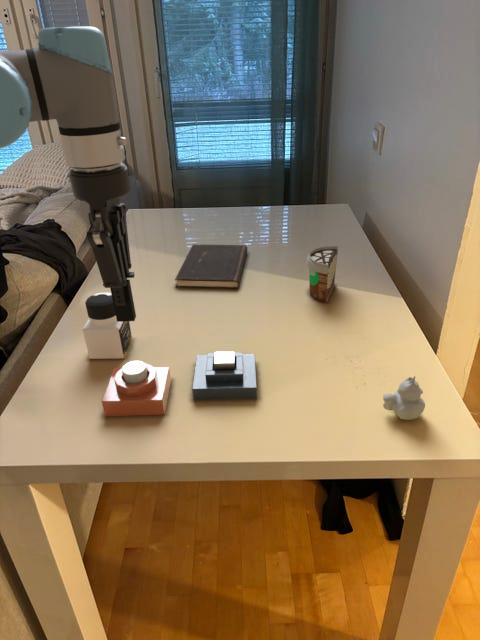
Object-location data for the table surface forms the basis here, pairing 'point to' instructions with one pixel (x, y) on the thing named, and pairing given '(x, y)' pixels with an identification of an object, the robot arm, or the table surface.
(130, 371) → the white round push button
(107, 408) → the orange button base
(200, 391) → the push button base
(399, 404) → the white lumpy figurine
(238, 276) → the hardcover book
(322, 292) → the food container
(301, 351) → the table surface
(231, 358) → the pump square
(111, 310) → the medicine bottle
